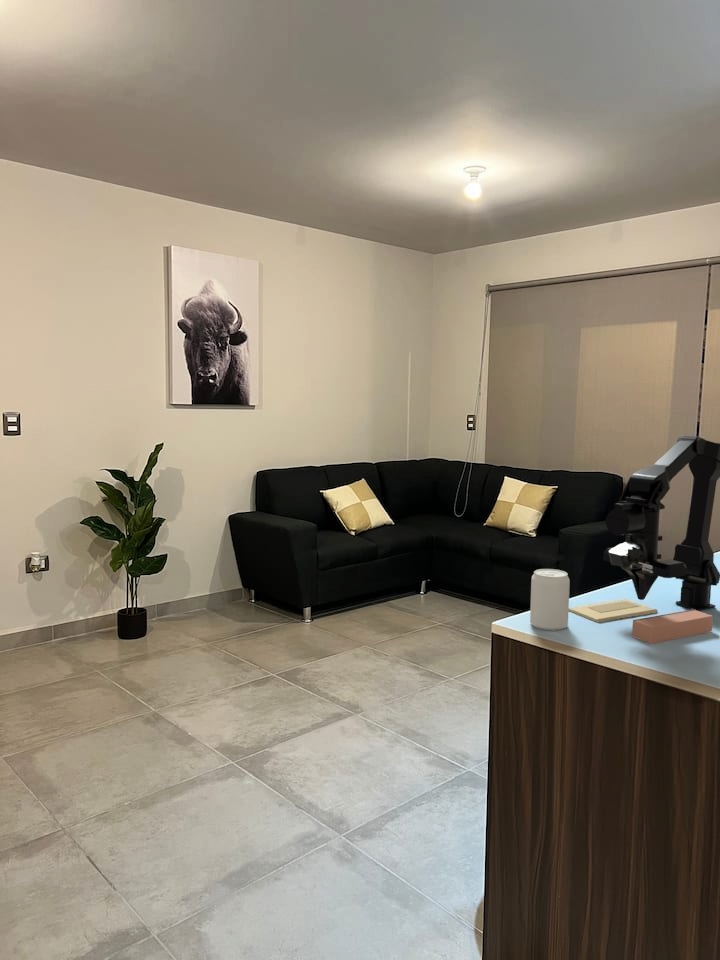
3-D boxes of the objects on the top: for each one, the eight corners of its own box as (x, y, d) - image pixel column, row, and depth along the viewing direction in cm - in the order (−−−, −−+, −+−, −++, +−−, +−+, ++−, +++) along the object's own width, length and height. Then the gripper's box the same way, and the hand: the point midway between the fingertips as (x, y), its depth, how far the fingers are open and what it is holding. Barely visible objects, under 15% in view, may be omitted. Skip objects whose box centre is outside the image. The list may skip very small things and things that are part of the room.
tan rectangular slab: (625, 601, 181) (625, 598, 181) (657, 612, 172) (657, 609, 172) (568, 610, 173) (568, 607, 173) (598, 622, 164) (598, 619, 164)
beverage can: (569, 633, 157) (571, 578, 156) (530, 630, 159) (532, 576, 157) (566, 621, 165) (568, 569, 164) (529, 619, 167) (531, 567, 165)
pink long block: (692, 624, 163) (693, 609, 162) (711, 631, 158) (712, 615, 158) (632, 636, 155) (632, 619, 155) (650, 643, 151) (651, 626, 150)
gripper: (586, 526, 166) (583, 593, 168) (651, 541, 150) (647, 615, 151) (623, 522, 171) (619, 587, 173) (689, 537, 154) (685, 609, 156)
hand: (641, 599), depth 163 cm, fingers closed
